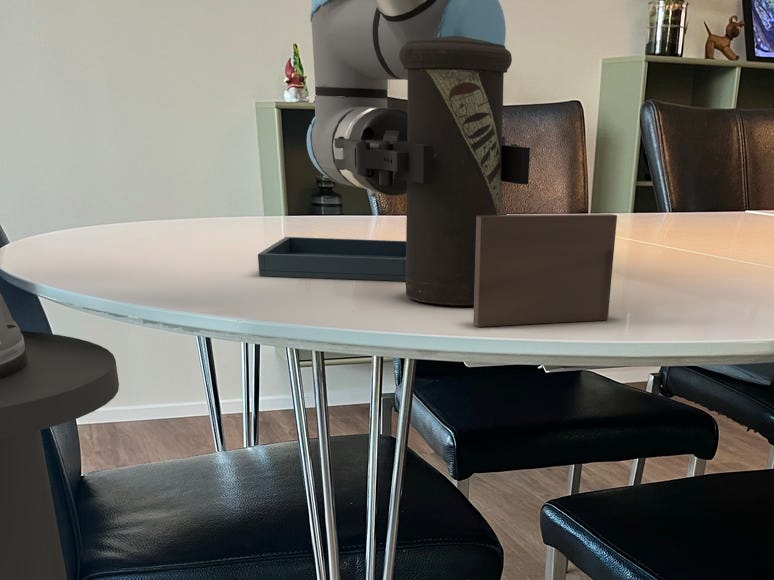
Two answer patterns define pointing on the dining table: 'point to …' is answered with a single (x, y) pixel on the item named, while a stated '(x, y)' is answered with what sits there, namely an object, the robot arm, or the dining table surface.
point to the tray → (335, 259)
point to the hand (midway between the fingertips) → (477, 165)
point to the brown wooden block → (543, 268)
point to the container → (452, 160)
